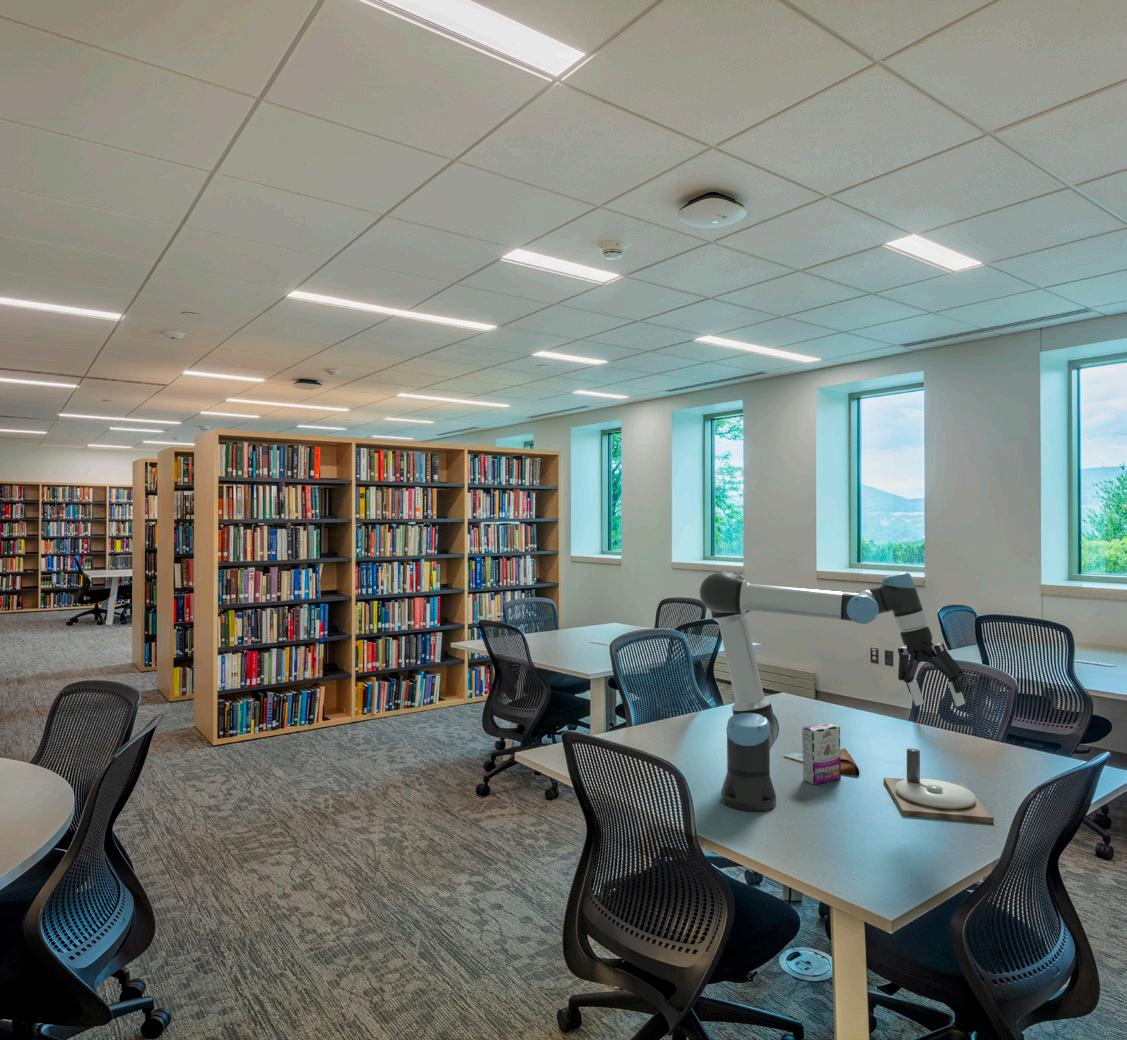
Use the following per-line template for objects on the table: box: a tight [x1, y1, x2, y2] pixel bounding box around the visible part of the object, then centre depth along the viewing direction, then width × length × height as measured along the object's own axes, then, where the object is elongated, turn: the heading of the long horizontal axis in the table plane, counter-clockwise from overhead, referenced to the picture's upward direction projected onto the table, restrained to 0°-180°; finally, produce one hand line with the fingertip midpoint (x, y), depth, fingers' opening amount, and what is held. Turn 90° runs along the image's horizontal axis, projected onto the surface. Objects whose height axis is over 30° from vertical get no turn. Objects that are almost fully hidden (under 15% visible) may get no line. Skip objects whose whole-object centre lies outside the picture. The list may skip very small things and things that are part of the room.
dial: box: [896, 748, 976, 809], centre depth 206 cm, size 20×20×10 cm
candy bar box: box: [801, 722, 842, 786], centre depth 223 cm, size 11×5×16 cm, turn 115°
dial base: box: [883, 777, 995, 824], centre depth 206 cm, size 22×26×2 cm
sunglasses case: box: [840, 747, 860, 777], centre depth 236 cm, size 18×7×7 cm, turn 170°
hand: (939, 704), depth 198 cm, fingers open, 13 cm apart
